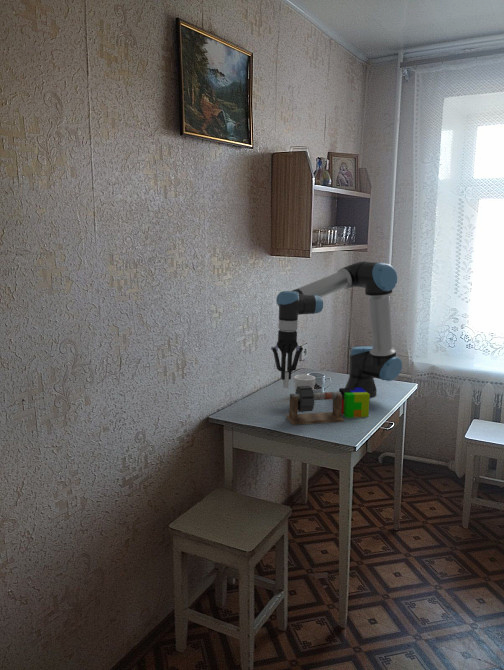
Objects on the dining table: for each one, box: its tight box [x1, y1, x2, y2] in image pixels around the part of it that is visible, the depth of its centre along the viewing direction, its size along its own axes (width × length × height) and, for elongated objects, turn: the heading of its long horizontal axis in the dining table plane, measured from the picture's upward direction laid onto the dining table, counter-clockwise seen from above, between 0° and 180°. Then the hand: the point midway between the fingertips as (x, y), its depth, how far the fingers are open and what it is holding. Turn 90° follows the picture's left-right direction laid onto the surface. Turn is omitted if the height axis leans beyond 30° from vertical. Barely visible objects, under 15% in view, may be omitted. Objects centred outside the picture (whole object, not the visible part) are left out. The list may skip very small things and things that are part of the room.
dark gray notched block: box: [294, 386, 315, 413], centre depth 224 cm, size 5×10×10 cm, turn 12°
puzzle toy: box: [338, 387, 371, 419], centre depth 235 cm, size 10×10×10 cm
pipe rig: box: [286, 391, 345, 426], centre depth 226 cm, size 22×9×12 cm, turn 102°
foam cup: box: [293, 374, 316, 393], centre depth 244 cm, size 10×9×13 cm
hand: (285, 387), depth 221 cm, fingers closed
